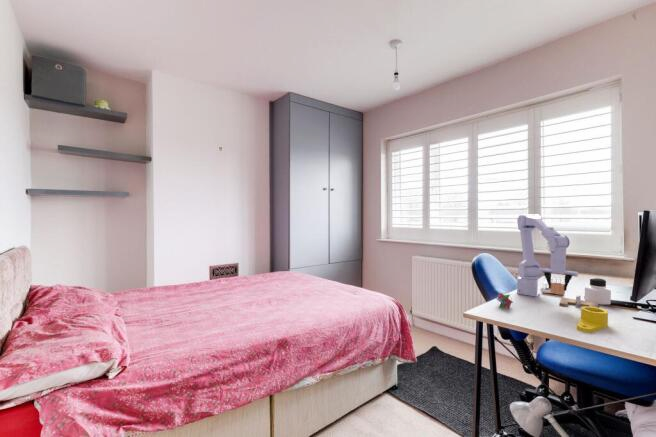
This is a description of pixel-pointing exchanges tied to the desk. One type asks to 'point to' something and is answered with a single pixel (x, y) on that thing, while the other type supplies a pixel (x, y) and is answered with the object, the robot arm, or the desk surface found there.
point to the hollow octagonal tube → (557, 288)
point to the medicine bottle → (598, 292)
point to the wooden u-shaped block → (573, 302)
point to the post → (578, 301)
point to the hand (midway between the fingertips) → (557, 289)
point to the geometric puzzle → (504, 300)
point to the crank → (592, 319)
